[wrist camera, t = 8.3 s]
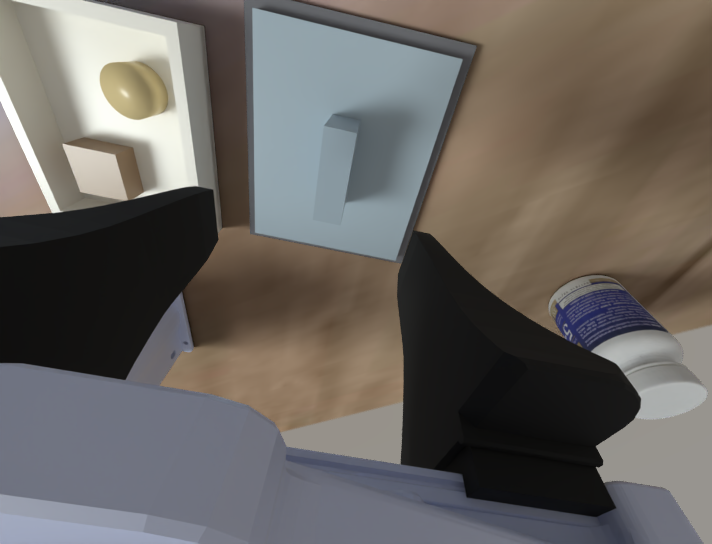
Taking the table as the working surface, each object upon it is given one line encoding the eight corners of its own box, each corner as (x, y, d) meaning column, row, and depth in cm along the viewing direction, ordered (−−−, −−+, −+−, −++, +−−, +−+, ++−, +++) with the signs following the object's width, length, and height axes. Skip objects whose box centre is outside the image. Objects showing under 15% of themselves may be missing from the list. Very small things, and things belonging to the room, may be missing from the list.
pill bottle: (533, 301, 25) (594, 403, 18) (596, 261, 22) (698, 361, 15) (570, 330, 27) (639, 433, 19) (633, 296, 24) (740, 401, 17)
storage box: (222, 228, 23) (206, 246, 21) (85, 201, 22) (54, 217, 20) (204, 25, 15) (176, 22, 13) (0, -23, 15) (-62, -34, 13)
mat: (401, 261, 23) (401, 263, 23) (251, 231, 23) (250, 233, 22) (475, 45, 15) (477, 45, 15) (245, -11, 14) (243, -12, 14)
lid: (395, 256, 23) (397, 288, 20) (257, 228, 22) (238, 257, 19) (460, 59, 15) (480, 61, 12) (256, 9, 15) (223, -2, 12)
